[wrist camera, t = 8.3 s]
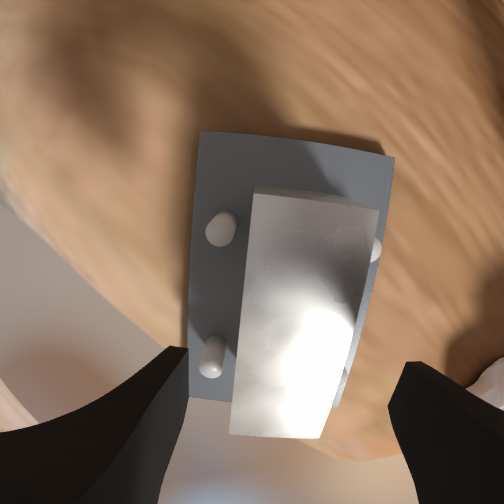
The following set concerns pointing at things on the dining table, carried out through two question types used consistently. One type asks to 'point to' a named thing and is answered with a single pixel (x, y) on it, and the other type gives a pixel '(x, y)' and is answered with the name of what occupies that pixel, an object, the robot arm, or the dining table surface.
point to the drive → (298, 308)
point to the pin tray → (238, 227)
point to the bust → (491, 385)
